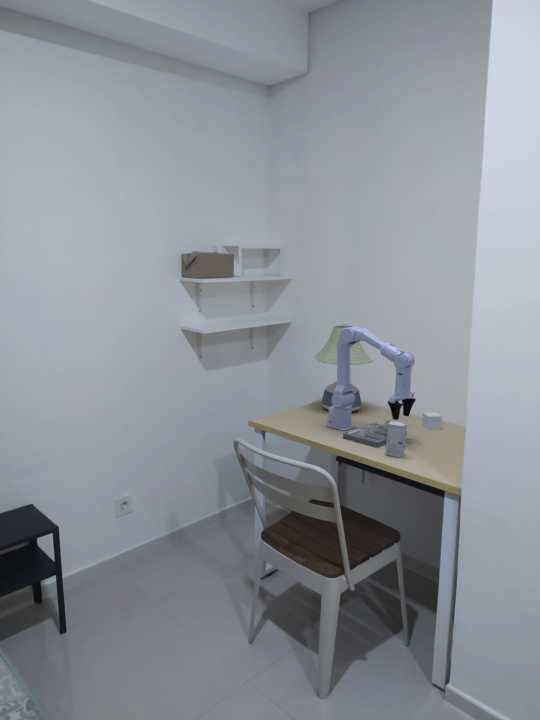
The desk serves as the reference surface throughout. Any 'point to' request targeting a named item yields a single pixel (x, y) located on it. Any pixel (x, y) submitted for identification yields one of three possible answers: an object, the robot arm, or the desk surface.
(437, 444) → the desk surface
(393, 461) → the desk surface
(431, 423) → the grey cube
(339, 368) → the robot arm
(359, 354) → the desk lamp
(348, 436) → the panel
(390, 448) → the skincare box
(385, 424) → the block
